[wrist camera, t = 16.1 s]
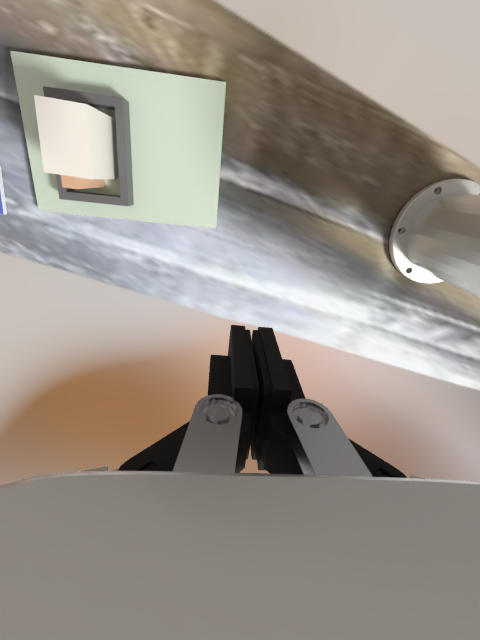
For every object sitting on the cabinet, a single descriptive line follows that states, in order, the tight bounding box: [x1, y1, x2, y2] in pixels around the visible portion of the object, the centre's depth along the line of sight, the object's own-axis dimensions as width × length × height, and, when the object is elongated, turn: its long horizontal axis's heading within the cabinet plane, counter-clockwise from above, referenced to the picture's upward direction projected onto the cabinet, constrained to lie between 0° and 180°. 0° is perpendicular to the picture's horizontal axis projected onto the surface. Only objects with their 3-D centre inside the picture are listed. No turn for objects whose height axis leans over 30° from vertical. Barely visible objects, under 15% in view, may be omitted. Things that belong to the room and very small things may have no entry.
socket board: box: [10, 51, 226, 229], centre depth 31 cm, size 20×14×3 cm
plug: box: [34, 95, 118, 189], centre depth 28 cm, size 4×6×7 cm, turn 172°
